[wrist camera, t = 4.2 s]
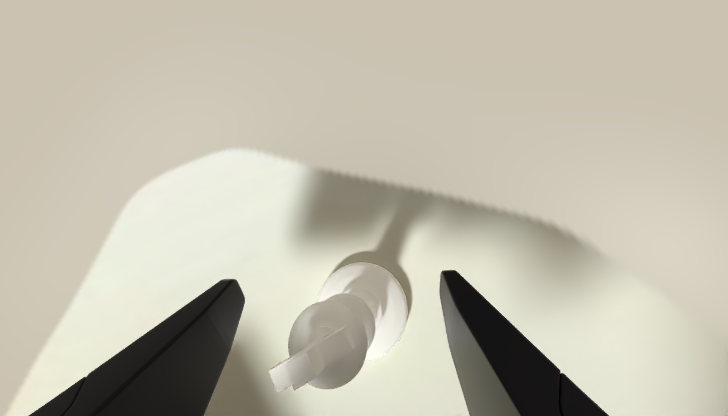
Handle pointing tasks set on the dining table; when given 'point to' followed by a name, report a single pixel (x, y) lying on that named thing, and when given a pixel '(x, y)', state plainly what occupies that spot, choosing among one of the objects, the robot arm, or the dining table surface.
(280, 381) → the chess piece
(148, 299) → the dining table surface
